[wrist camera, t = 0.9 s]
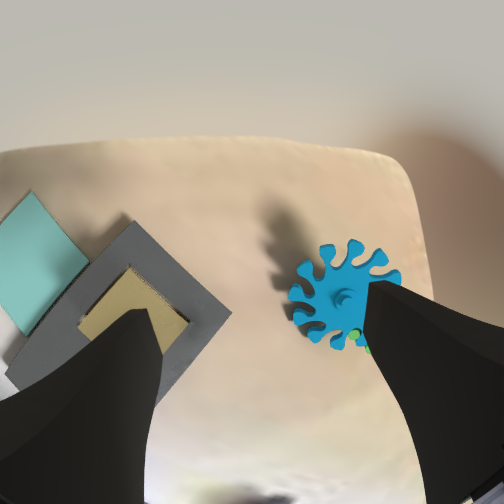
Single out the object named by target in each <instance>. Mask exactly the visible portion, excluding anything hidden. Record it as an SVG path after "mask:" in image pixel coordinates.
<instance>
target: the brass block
mask: <svg viewBox="0 0 504 504" xmlns="http://www.w3.org/2000/svg"><path fill="white" fill-rule="evenodd" d="M143 308H147V310H148V313H149V316H150V319H151V323H152V326H153V328H154V331H155V334H156V337H157V340H158V343H159V346H160V348H161V351H162V354H164V353H165V351H166V350H167V349H168V348H169V347H170V345H171V344H172V343H173V342H174V341H175V339H176V338H177V337H178V336H179V335H180V334H181V332H182V331H183V330H184V329H185V328H186V326H187V325H188V323H187V322H186V321H185V320H184V319H183V318H182V317H181V316H179V315H178V314H177V313H176V312H175V311H174V310H173V309H172V308H170V307H169V306H168V305H167V304H166V303H165V302H164V301H163V300H162V299H161V298H160V297H159V296H157V295H156V294H155V293H154V292H153V291H152V290H151V289H150V288H149V287H148V286H147V285H146V284H145V283H144V282H143V281H142V280H141V279H140V278H139V277H138V276H137V275H136V274H135V273H134V272H133V271H132V270H131V269H130V268H129V269H128V270H127V271H126V273H125V274H124V275H123V276H122V277H121V278H120V279H119V280H118V281H117V282H116V283H115V285H114V286H113V287H112V288H111V289H110V290H109V291H108V292H107V293H106V295H105V296H104V297H103V298H102V299H101V300H100V301H99V303H98V304H97V305H96V306H95V307H94V308H93V309H92V311H91V312H90V313H89V314H88V315H87V316H86V318H85V319H84V320H83V321H82V322H81V324H80V325H79V326H78V329H79V330H80V331H81V332H82V333H83V334H84V335H85V336H87V337H88V338H89V339H90V340H91V341H92V340H93V339H95V338H96V337H97V336H98V335H99V334H100V333H102V332H103V331H104V330H105V329H106V328H107V327H109V326H110V325H111V324H112V323H113V322H114V321H116V320H117V319H118V318H119V317H120V316H122V315H123V314H124V313H126V312H127V311H129V310H130V309H143Z"/></svg>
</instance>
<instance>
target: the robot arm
mask: <svg viewBox="0 0 504 504" xmlns="http://www.w3.org/2000/svg"><path fill="white" fill-rule="evenodd" d="M362 332H363V334H364V337H365V340H366V342H367V345H368V347H369V350H370V352H371V355H372V357H373V358H374V360H375V362H376V364H377V366H378V367H379V369H380V371H381V373H382V375H383V376H384V378H385V380H386V382H387V383H388V385H389V387H390V389H391V391H392V392H393V394H394V396H395V398H396V400H397V402H398V403H399V405H400V408H401V410H402V412H403V414H404V417H405V419H406V422H407V425H408V427H409V430H410V433H411V436H412V439H413V442H414V446H415V449H416V452H417V456H418V459H419V464H420V468H421V472H422V477H423V482H424V488H425V495H426V502H427V504H463V503H465V502H466V501H468V500H469V499H471V498H472V500H473V503H472V504H504V328H502V327H498V326H495V325H491V324H488V323H485V322H482V321H479V320H476V319H473V318H471V317H468V316H466V315H463V314H461V313H458V312H456V311H454V310H451V309H449V308H447V307H444V306H442V305H440V304H438V303H436V302H434V301H431V300H429V299H427V298H425V297H423V296H421V295H419V294H417V293H415V292H413V291H410V290H408V289H406V288H404V287H402V286H400V285H397V284H395V283H393V282H390V281H387V280H381V281H375V282H369V286H368V295H367V303H366V311H365V318H364V325H363V331H362ZM162 362H163V354H162V351H161V348H160V346H159V343H158V340H157V337H156V334H155V331H154V328H153V326H152V323H151V319H150V316H149V313H148V310H147V308H143V309H130V310H129V311H127V312H126V313H124V314H123V315H122V316H120V317H119V318H118V319H117V320H116V321H114V322H113V323H112V324H111V325H110V326H109V327H107V328H106V329H105V330H104V331H103V332H102V333H100V334H99V335H98V336H97V337H96V338H95V339H93V340H92V341H91V342H90V343H89V344H88V345H86V346H85V347H84V348H83V349H81V350H80V351H79V352H78V353H76V354H75V355H74V356H73V357H72V358H70V359H69V360H68V361H67V362H65V363H64V364H63V365H61V366H60V367H59V368H57V369H56V370H54V371H53V372H51V373H50V374H48V375H47V376H45V377H44V378H42V379H41V380H39V381H38V382H36V383H34V384H32V385H31V386H29V387H27V388H25V389H24V390H22V391H20V392H18V393H16V394H15V395H13V396H11V397H8V398H6V399H4V400H2V401H0V504H145V503H144V467H145V453H146V444H147V438H148V433H149V428H150V424H151V419H152V415H153V411H154V407H155V403H156V398H157V394H158V390H159V386H160V381H161V373H162Z"/></svg>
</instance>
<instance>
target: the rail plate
mask: <svg viewBox="0 0 504 504" xmlns="http://www.w3.org/2000/svg"><path fill="white" fill-rule="evenodd" d="M129 267H131V268H132V269H133V270H134V271H135V272H136V273H137V274H138V275H139V276H140V277H141V278H142V279H143V280H144V281H145V282H146V283H147V284H148V285H150V286H151V287H152V288H153V289H154V290H155V291H156V292H157V293H158V294H159V295H160V296H161V297H162V298H163V299H164V300H166V301H167V302H168V303H169V304H170V305H171V306H172V307H173V308H174V309H175V310H177V311H178V312H179V313H180V314H181V315H182V316H183V317H184V318H186V319H187V323H188V325H187V326H186V328H185V329H184V330H183V331H182V332H181V334H180V335H179V336H178V337H177V338H176V339H175V341H174V342H173V343H172V344H171V345H170V347H169V348H168V349H167V350H166V351H165V353H164V354H163V362H162V373H161V381H160V386H159V390H158V394H157V398H156V403H155V406H156V405H157V404H158V403H159V402H160V400H161V399H162V398H163V397H164V396H165V395H166V393H167V392H168V391H169V390H170V389H171V387H172V386H173V385H174V384H175V383H176V381H177V380H178V379H179V378H180V376H181V375H182V374H183V373H184V372H185V370H186V369H187V368H188V367H189V366H190V364H191V363H192V362H193V361H194V359H195V358H196V357H197V356H198V355H199V353H200V352H201V351H202V350H203V348H204V347H205V346H206V345H207V344H208V342H209V341H210V340H211V339H212V337H213V336H214V335H215V334H216V332H217V331H218V330H219V329H220V327H221V326H222V325H223V324H224V323H225V321H226V320H227V319H228V318H229V316H230V315H231V314H232V312H231V311H230V310H229V309H228V308H226V307H225V306H224V305H223V304H222V303H221V302H220V301H219V300H217V299H216V298H215V297H214V296H213V295H212V294H211V293H210V292H209V291H208V290H206V289H205V288H204V287H203V286H202V285H201V284H200V283H199V282H198V281H197V280H196V279H195V278H194V277H192V276H191V275H190V274H189V273H188V272H187V271H186V270H185V269H184V268H183V267H182V266H181V265H180V264H179V263H178V262H177V261H176V260H175V259H173V258H172V257H171V256H170V255H169V254H168V253H167V252H166V251H165V250H164V249H163V248H162V247H161V246H160V245H159V244H158V243H157V242H156V241H155V240H154V239H153V238H152V237H151V236H150V235H149V234H148V233H147V232H146V231H145V230H144V229H143V228H142V227H141V226H140V225H139V224H138V223H137V222H136V221H135V220H134V221H133V222H132V223H131V224H130V225H129V226H128V227H127V228H126V229H125V230H124V231H123V232H122V233H121V234H120V235H119V236H118V237H117V238H116V239H115V240H114V241H113V242H112V243H111V244H110V245H109V246H108V247H107V248H106V249H105V250H104V251H103V252H102V253H101V254H100V255H99V256H98V257H97V258H96V260H95V261H94V262H93V263H92V264H91V265H90V266H89V267H88V268H87V269H86V270H85V271H84V273H83V274H82V275H81V276H80V277H79V278H78V279H77V280H76V282H75V283H74V284H73V285H72V286H71V287H70V288H69V290H68V291H67V292H66V293H65V294H64V295H63V297H62V298H61V299H60V300H59V301H58V303H57V304H56V305H55V306H54V307H53V309H52V310H51V311H50V312H49V314H48V315H47V316H46V317H45V319H44V320H43V321H42V322H41V324H40V325H39V326H38V327H37V329H36V330H35V331H34V333H33V334H32V335H31V337H30V338H29V339H28V341H27V342H26V343H25V345H24V346H23V348H22V349H21V350H20V352H19V353H18V355H17V356H16V357H15V359H14V360H13V362H12V363H11V365H10V366H9V368H8V369H7V371H6V372H5V375H6V376H7V377H8V379H9V380H10V381H11V382H12V383H13V384H14V385H15V386H16V387H17V388H18V390H19V391H22V390H24V389H25V388H27V387H29V386H31V385H32V384H34V383H36V382H38V381H39V380H41V379H42V378H44V377H45V376H47V375H48V374H50V373H51V372H53V371H54V370H56V369H57V368H59V367H60V366H61V365H63V364H64V363H65V362H67V361H68V360H69V359H70V358H72V357H73V356H74V355H75V354H76V353H78V352H79V351H80V350H81V349H83V348H84V347H85V346H86V345H88V344H89V343H90V342H91V340H90V339H89V338H88V337H87V336H85V335H84V334H83V333H82V332H81V331H80V330H79V329H78V326H79V325H80V324H79V323H80V322H81V321H82V320H83V318H84V317H85V316H86V315H87V314H88V312H89V311H90V310H91V309H92V308H93V307H94V305H95V304H96V303H97V302H98V301H99V300H100V299H101V297H102V296H103V295H104V294H105V293H106V292H107V291H108V290H109V288H110V287H111V286H112V285H113V284H114V283H115V282H116V281H117V280H118V279H119V277H120V276H121V275H122V274H123V273H124V272H125V271H126V270H127V269H128V268H129ZM154 408H155V407H154Z"/></svg>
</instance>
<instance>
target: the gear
mask: <svg viewBox="0 0 504 504" xmlns="http://www.w3.org/2000/svg"><path fill="white" fill-rule="evenodd" d="M347 246H348V252H347V256H346V258H345V260H344V261H343V263H342V264H341V265H340V266H339V267H333V266H331V264H330V262H331V261H332V259H333V258H334V257H335V255H336V249H335V246H334V245H333V244H326V245H322V246H320V249H319V251H320V256H321V257H322V259H323V261H324V263H325V274H324V276H323V277H321V278H316V277H314V276H313V264H312V262H311V261H310V260H305V261H303V262H302V263H301V264H300V265H299V266H298V267H297V273H298V274H299V275H300V276H301V277H304V278H305V279H307V280H308V281H309V282H310V283H311V284H312V286H313V288H314V290H315V292H314V293H313V294H312V295H307V294H305V293H304V291H303V289H302V287H301V286H300V285H299V284H296V283H294V284H293V285H292V287H291V289H290V291H289V295H288V299H289V300H291V301H302V302H305V303H308V304H309V305H311V306H312V307H314V308H315V311H314V312H312V313H309V312H306V311H305V310H304V309H302V308H296V309H294V313H293V321H294V324H295V325H302V324H304V323H306V322H309V321H322V322H324V323H325V325H324V326H323V327H316V326H313V327H310V328H309V329H308V333H307V335H308V337H309V339H310V340H311V341H312V342H313V343H318V342H319V341H320V340H321V338H322V337H323V336H324V335H325V334H326V333H328V332H330V331H332V330H335V329H340V330H342V332H341V333H339V334H337V335H334V336H333V337H332V338H331V339H330V347H332V348H334V349H336V350H342V349H343V348H344V346H345V339H346V337H347V335H348V336H349V338H350V339H351V340H355V342H356V345H357V346H365V349H366V352H367V353H370V354H371V352H370V350H369V347H368V345H367V342H366V340H365V337H364V334H363V332H362V331H363V325H364V318H365V311H366V303H367V295H368V286H369V282H375V281H381V280H387V281H390V282H393V283H395V284H397V285H401V273H400V272H399V271H398V270H395V269H394V270H391V271H390V272H388V273H386V274H384V275H371V274H370V273H369V271H370V269H371V268H372V267H373V266H385V265H387V264H388V262H389V260H388V258H387V256H386V254H385V253H384V252H383V251H382V250H381V249H380V248H378V249H376V250H375V251H374V252H373V255H372V256H371V258H370V259H369V260H368V261H366V262H365V263H363V264H361V265H359V266H353V265H352V264H351V262H352V260H353V258H355V257H357V256H359V255H361V254H362V253H363V252H364V249H365V247H364V245H363V244H362V243H361V242H359V241H357V240H354V239H350V240H349V242H348V245H347Z"/></svg>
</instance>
